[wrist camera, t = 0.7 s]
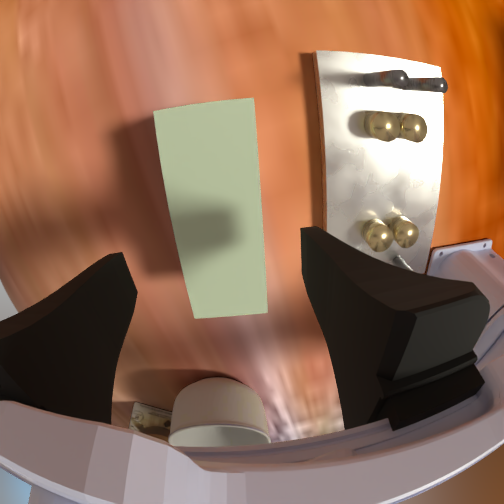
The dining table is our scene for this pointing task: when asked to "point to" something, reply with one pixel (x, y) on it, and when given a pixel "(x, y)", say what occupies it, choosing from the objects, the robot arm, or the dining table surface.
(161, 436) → the coffee box
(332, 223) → the plate
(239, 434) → the teacup
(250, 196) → the pale green rectangular block
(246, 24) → the dining table surface
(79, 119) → the dining table surface
